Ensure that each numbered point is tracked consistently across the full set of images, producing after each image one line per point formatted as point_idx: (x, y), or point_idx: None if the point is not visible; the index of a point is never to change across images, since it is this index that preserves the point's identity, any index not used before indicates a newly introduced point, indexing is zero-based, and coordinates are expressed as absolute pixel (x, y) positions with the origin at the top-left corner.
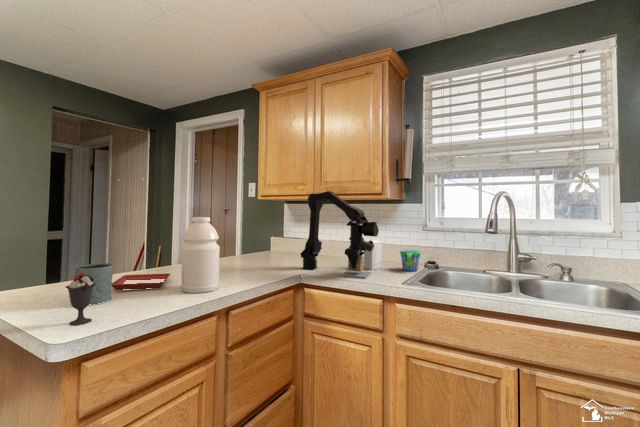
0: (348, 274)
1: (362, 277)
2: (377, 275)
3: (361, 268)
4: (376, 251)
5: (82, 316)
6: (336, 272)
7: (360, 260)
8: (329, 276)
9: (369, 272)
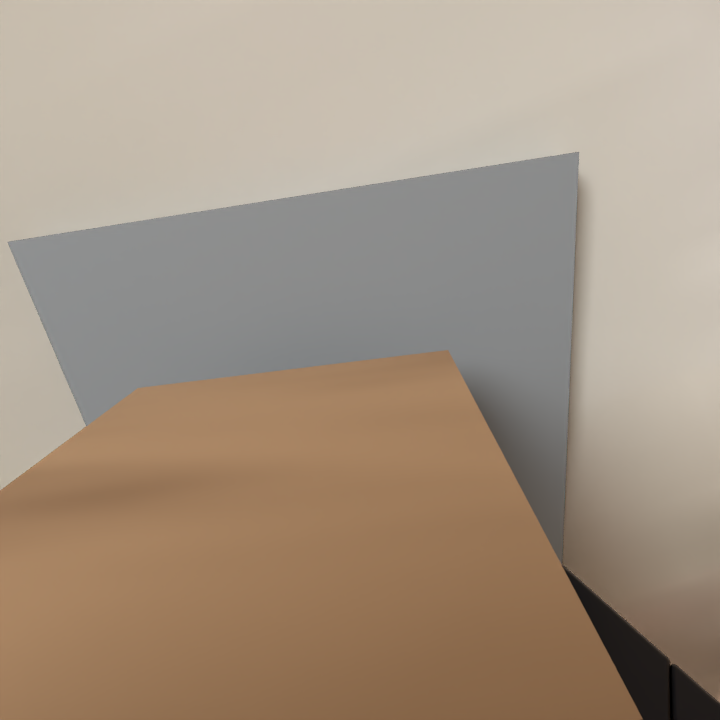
0: None
1: (569, 224)
2: (63, 37)
3: (345, 385)
4: None
5: None
6: None
7: (584, 625)
8: None
9: (54, 262)
